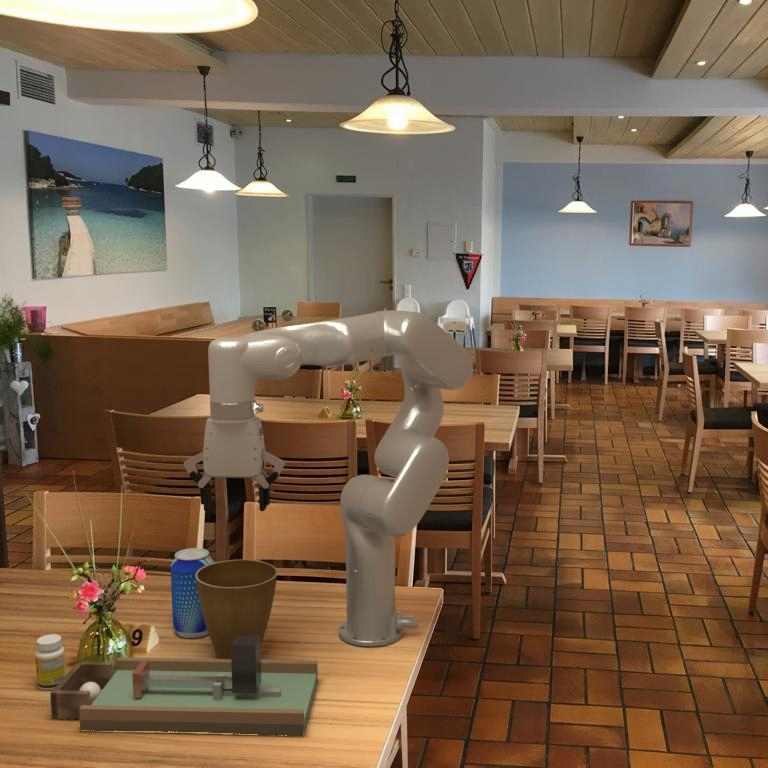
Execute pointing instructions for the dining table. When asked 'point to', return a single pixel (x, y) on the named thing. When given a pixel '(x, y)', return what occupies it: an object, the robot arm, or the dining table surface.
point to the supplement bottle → (50, 661)
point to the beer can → (188, 592)
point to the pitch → (206, 699)
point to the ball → (91, 690)
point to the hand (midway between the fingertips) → (235, 508)
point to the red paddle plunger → (242, 679)
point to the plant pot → (235, 600)
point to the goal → (78, 688)
